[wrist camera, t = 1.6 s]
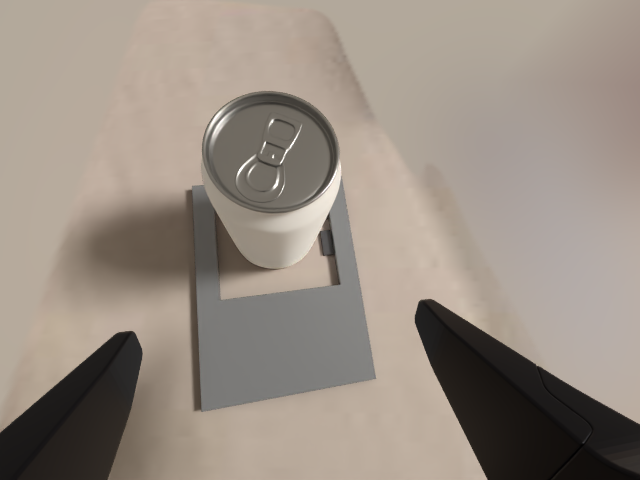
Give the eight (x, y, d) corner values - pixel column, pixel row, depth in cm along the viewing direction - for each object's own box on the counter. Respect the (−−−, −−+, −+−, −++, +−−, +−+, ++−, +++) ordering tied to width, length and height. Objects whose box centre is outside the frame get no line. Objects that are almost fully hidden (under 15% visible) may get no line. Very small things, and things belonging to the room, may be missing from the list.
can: (220, 254, 23) (161, 189, 11) (251, 181, 24) (228, 61, 13) (300, 281, 23) (323, 246, 11) (325, 208, 25) (367, 113, 13)
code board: (373, 377, 22) (376, 378, 21) (203, 409, 20) (201, 411, 19) (340, 179, 26) (341, 175, 25) (194, 189, 24) (191, 185, 23)
